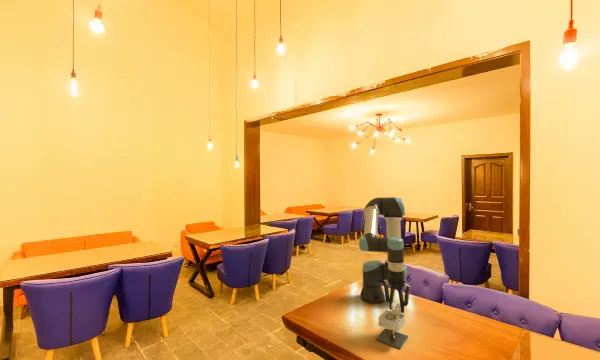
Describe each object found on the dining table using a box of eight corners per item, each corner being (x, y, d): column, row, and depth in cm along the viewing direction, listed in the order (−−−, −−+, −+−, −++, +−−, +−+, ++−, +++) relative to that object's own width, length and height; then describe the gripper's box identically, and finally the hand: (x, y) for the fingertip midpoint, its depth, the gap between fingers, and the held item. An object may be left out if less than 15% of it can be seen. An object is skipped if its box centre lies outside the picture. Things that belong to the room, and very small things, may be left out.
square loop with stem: (392, 311, 141) (392, 301, 141) (410, 316, 135) (410, 306, 135) (378, 325, 127) (378, 314, 127) (398, 331, 121) (397, 320, 121)
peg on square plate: (385, 330, 135) (384, 311, 135) (407, 337, 129) (407, 317, 129) (376, 340, 127) (376, 320, 127) (400, 349, 120) (399, 327, 120)
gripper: (377, 268, 135) (378, 315, 135) (410, 275, 125) (411, 325, 125) (383, 265, 141) (384, 310, 141) (415, 270, 131) (416, 319, 131)
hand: (397, 317), depth 133 cm, fingers closed on square loop with stem, 3 cm apart
